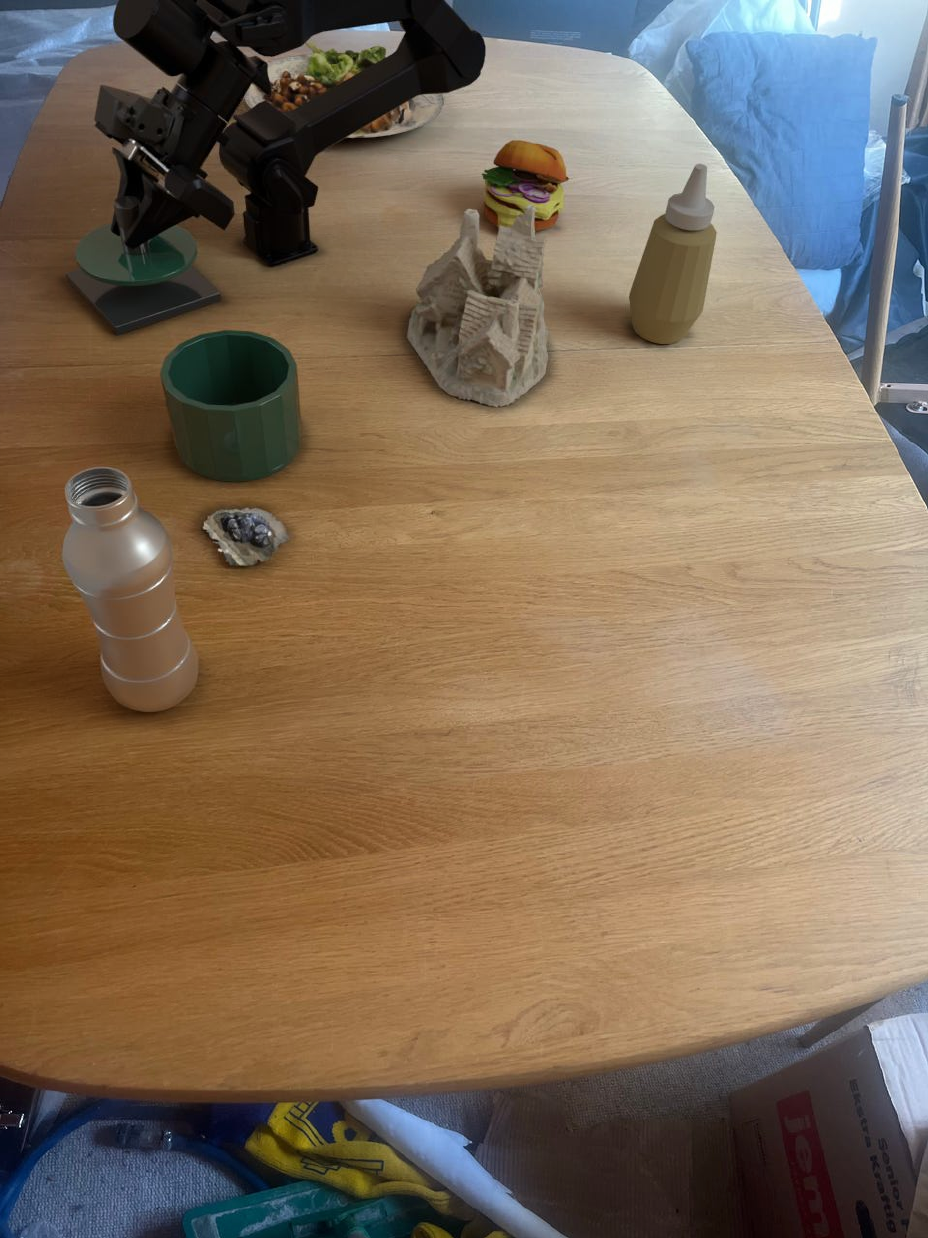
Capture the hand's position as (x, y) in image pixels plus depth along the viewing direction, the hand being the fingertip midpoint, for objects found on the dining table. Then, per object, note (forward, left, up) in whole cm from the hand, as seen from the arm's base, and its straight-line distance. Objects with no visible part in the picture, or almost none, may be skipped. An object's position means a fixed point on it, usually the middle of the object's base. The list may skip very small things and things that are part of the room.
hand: (121, 239), depth 98 cm
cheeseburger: (-47, +9, -6) cm, 49 cm away
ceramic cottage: (-24, +28, -6) cm, 38 cm away
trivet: (-1, 0, -6) cm, 6 cm away
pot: (+3, +27, -6) cm, 28 cm away
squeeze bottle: (-44, +36, -6) cm, 57 cm away
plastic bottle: (+22, +48, -6) cm, 53 cm away
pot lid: (-1, 0, -2) cm, 2 cm away
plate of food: (-45, -27, -6) cm, 53 cm away
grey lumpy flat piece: (+9, +38, -6) cm, 40 cm away
